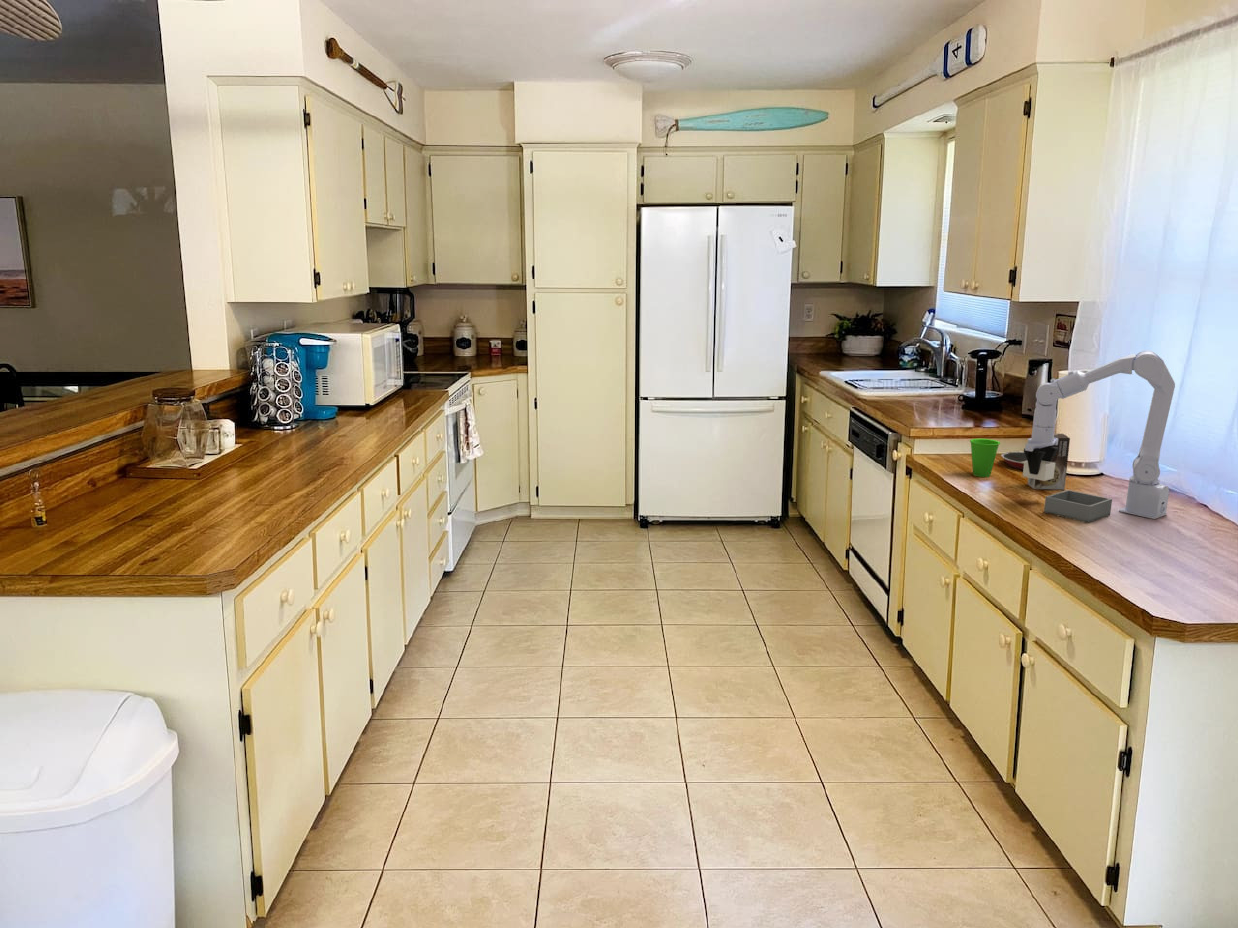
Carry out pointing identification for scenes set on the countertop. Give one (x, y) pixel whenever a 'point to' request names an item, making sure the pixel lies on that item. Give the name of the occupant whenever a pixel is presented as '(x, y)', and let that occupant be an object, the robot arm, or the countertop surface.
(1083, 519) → the grey shallow square box
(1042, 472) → the white crate
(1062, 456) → the coffee box
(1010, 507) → the countertop surface
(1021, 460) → the frying pan
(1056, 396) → the robot arm
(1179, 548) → the countertop surface
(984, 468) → the cup
